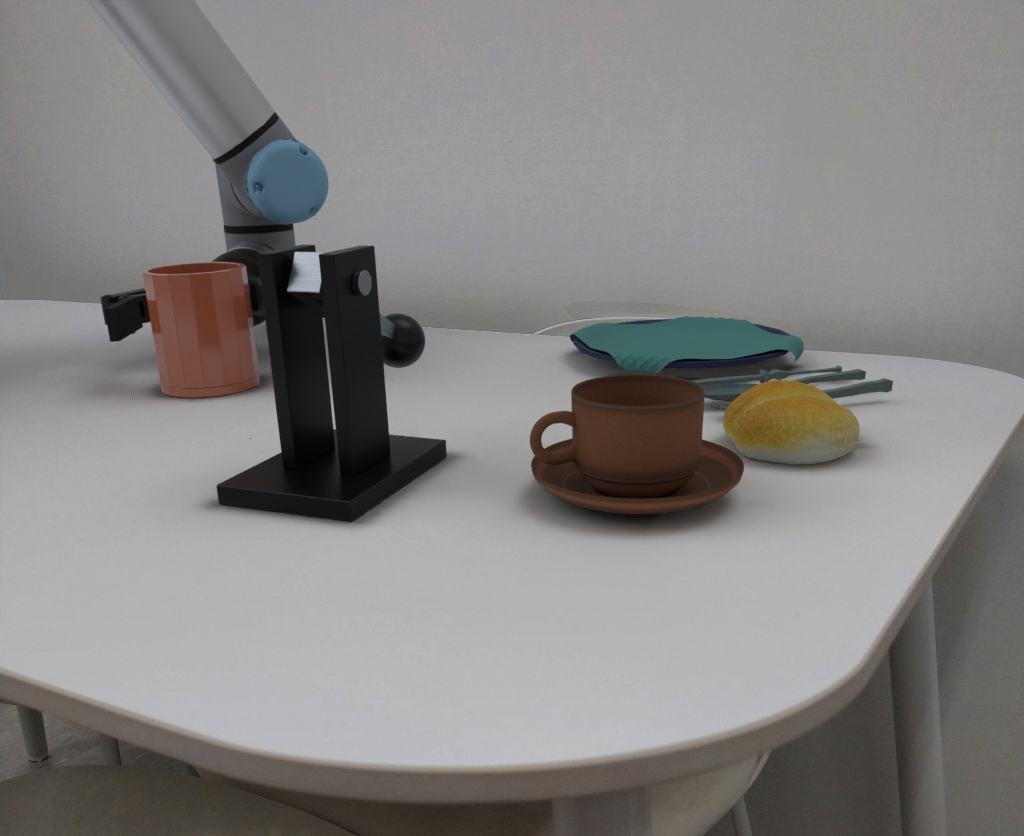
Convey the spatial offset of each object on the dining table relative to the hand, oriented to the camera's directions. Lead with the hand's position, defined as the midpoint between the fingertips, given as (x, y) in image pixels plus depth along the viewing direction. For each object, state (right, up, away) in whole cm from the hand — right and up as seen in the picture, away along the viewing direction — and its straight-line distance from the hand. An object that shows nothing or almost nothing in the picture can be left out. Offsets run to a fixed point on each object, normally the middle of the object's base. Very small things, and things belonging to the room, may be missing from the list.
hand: (195, 322), depth 80 cm
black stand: (+15, -14, -20) cm, 29 cm away
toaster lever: (+17, -5, -20) cm, 26 cm away
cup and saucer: (+33, -15, -24) cm, 43 cm away
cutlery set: (+43, -4, +4) cm, 43 cm away
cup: (0, -5, +4) cm, 6 cm away
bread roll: (+44, -12, -16) cm, 48 cm away
